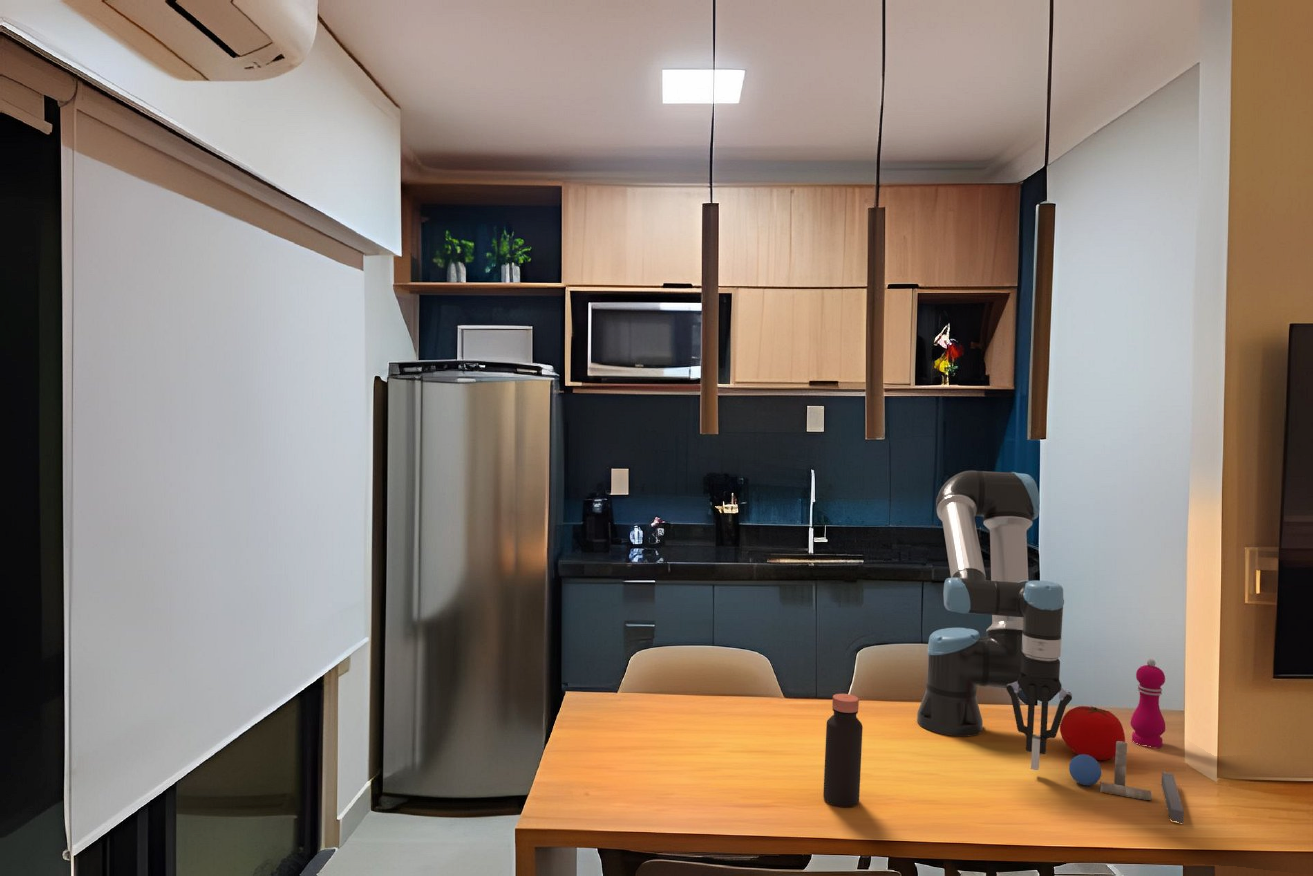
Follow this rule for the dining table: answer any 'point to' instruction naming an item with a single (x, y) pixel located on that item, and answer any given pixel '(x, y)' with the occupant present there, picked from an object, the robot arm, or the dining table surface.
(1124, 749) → the pin
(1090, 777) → the ball
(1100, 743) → the tomato
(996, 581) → the robot arm
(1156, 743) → the pepper mill
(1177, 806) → the grey square rod
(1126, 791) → the pin
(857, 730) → the bottle
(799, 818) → the dining table surface
